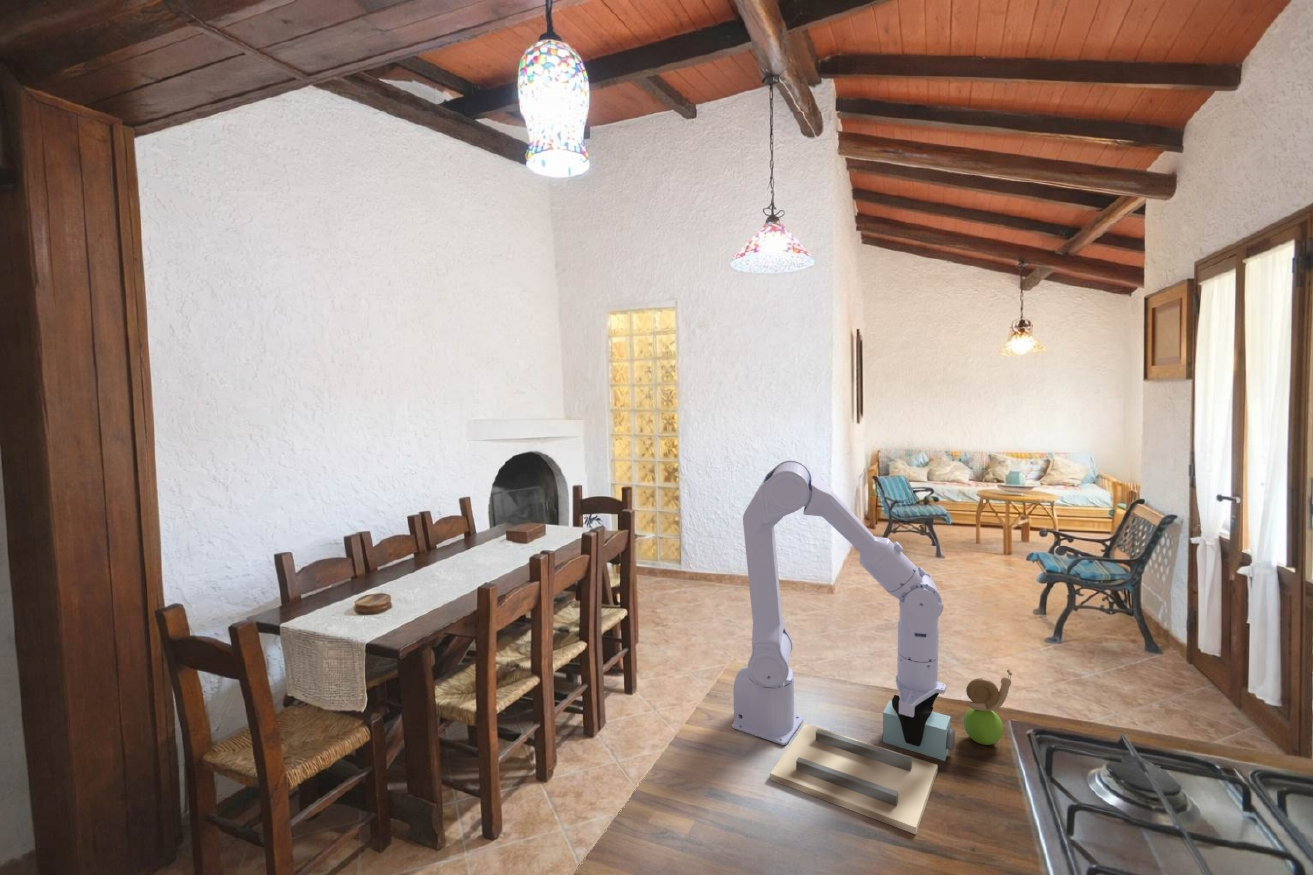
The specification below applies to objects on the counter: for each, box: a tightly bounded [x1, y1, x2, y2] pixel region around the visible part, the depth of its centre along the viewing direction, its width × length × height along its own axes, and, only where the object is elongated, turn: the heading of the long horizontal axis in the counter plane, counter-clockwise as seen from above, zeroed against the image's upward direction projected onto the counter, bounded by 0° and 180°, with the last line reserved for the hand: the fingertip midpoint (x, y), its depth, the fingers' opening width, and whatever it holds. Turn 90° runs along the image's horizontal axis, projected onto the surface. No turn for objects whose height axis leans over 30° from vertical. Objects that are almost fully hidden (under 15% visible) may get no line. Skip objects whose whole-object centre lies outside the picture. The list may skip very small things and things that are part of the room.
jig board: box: [769, 723, 939, 835], centre depth 91 cm, size 20×14×2 cm
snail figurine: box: [963, 669, 1013, 746], centre depth 96 cm, size 5×6×12 cm
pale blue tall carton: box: [882, 699, 956, 762], centre depth 97 cm, size 10×4×5 cm, turn 56°
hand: (916, 735), depth 97 cm, fingers closed on pale blue tall carton, 4 cm apart
